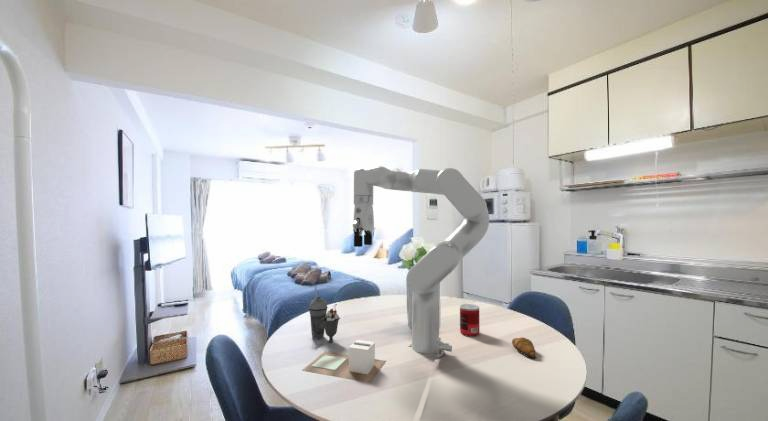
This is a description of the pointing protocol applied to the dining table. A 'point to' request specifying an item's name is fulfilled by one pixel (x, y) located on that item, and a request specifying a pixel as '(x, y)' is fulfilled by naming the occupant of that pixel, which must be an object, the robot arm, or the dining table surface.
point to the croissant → (524, 346)
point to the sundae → (331, 323)
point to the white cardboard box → (361, 356)
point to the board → (341, 367)
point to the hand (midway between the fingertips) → (363, 245)
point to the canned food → (469, 319)
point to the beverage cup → (317, 316)
